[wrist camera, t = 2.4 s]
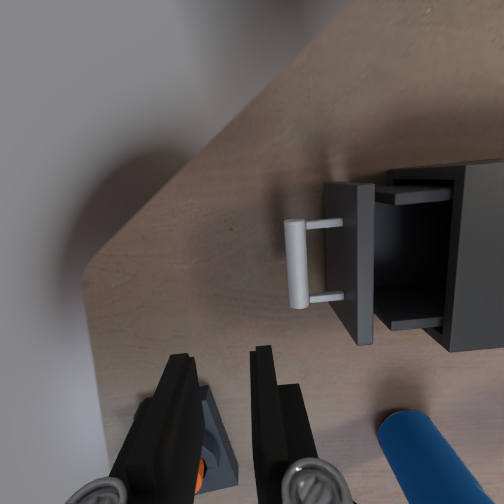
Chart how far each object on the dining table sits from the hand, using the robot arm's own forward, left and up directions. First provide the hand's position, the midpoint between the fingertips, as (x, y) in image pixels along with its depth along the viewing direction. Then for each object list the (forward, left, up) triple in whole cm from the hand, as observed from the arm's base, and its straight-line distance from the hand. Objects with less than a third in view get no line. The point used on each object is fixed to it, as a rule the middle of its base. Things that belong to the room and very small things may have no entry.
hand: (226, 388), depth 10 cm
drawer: (+2, +13, -18) cm, 22 cm away
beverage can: (+26, +13, -19) cm, 35 cm away
